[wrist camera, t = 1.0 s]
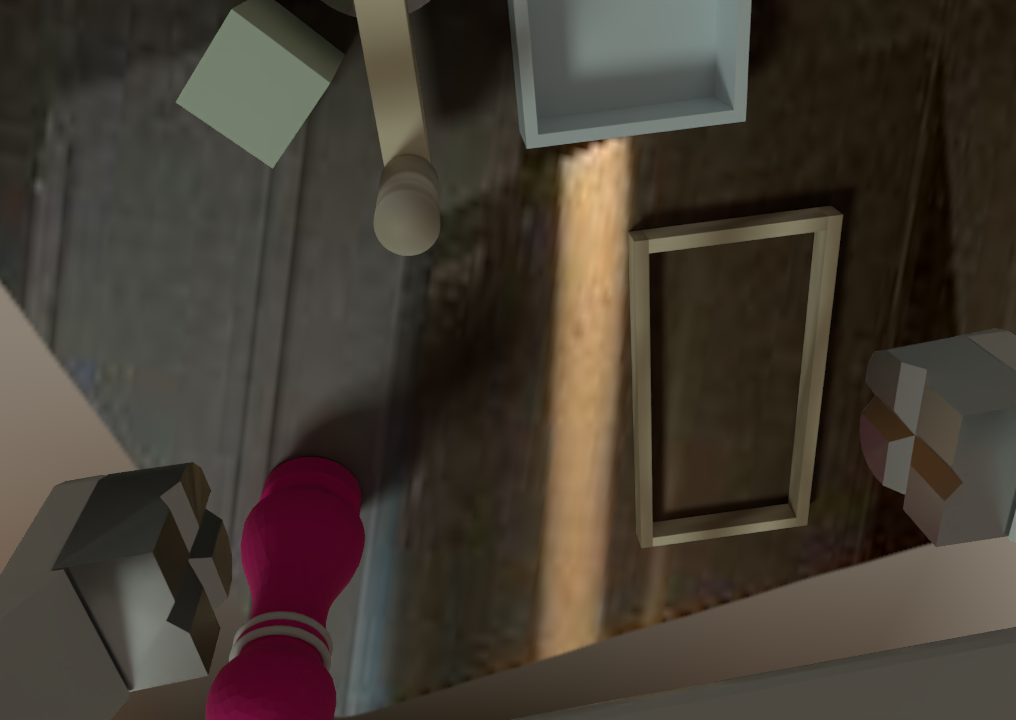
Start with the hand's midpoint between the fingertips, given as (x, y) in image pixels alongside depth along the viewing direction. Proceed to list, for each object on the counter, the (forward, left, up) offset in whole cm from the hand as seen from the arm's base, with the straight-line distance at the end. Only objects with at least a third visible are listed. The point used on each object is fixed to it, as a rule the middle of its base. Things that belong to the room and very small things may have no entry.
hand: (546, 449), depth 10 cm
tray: (-8, -1, -34) cm, 35 cm away
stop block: (+9, 0, -34) cm, 35 cm away
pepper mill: (+13, +26, -34) cm, 45 cm away
